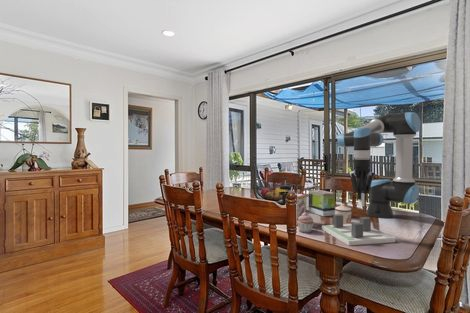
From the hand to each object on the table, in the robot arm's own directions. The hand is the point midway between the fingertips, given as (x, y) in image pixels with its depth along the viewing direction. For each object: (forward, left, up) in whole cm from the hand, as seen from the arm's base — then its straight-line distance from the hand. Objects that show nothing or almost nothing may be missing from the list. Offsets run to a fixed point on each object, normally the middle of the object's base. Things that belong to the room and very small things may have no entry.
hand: (361, 205), depth 135 cm
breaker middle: (-2, 0, -12) cm, 12 cm away
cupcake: (+25, -11, -15) cm, 31 cm away
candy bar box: (+23, -25, -15) cm, 37 cm away
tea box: (-2, -44, -15) cm, 46 cm away
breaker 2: (+8, +8, -12) cm, 17 cm away
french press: (+18, -58, -15) cm, 62 cm away
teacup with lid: (-3, -20, -15) cm, 25 cm away
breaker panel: (+3, 0, -15) cm, 15 cm away
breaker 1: (+8, -8, -12) cm, 17 cm away
